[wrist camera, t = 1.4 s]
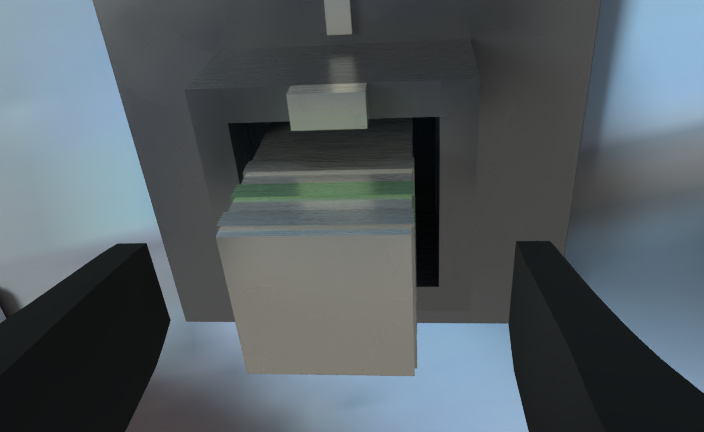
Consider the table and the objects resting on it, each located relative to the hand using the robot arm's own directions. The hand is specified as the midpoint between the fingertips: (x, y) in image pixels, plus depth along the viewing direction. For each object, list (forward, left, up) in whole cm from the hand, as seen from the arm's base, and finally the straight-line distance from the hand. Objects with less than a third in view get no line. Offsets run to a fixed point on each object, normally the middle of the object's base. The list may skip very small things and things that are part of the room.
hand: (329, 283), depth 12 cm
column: (0, 0, -6) cm, 6 cm away
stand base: (0, 0, -6) cm, 6 cm away
